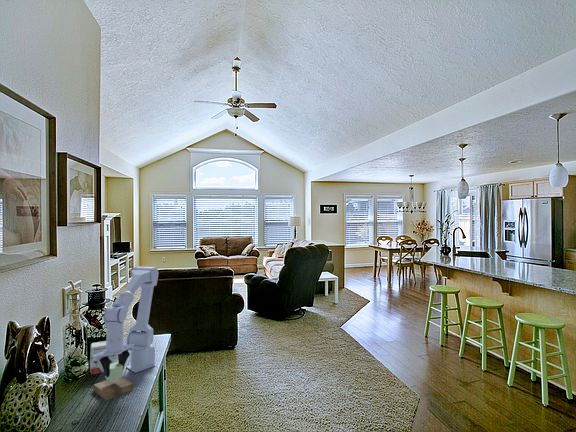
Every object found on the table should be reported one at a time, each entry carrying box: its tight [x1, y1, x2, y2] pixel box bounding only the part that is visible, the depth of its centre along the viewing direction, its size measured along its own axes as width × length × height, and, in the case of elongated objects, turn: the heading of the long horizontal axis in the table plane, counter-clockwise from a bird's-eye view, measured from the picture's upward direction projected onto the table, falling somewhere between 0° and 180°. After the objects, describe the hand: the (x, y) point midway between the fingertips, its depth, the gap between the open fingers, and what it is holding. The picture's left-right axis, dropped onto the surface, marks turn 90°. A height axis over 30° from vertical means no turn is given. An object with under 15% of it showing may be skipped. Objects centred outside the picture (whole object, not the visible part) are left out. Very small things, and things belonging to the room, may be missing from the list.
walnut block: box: [93, 376, 134, 402], centre depth 128 cm, size 10×10×3 cm
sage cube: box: [104, 361, 124, 381], centre depth 128 cm, size 4×4×4 cm
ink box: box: [89, 340, 115, 376], centre depth 144 cm, size 8×5×12 cm, turn 123°
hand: (113, 373), depth 128 cm, fingers closed on sage cube, 4 cm apart
